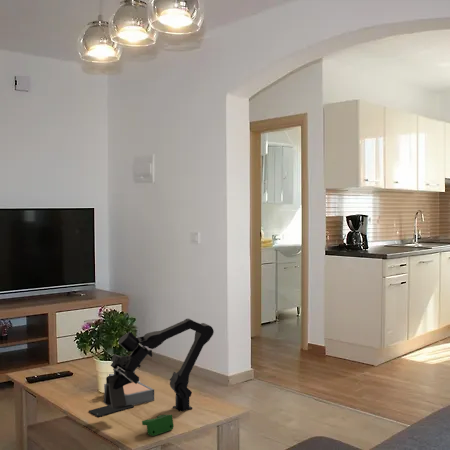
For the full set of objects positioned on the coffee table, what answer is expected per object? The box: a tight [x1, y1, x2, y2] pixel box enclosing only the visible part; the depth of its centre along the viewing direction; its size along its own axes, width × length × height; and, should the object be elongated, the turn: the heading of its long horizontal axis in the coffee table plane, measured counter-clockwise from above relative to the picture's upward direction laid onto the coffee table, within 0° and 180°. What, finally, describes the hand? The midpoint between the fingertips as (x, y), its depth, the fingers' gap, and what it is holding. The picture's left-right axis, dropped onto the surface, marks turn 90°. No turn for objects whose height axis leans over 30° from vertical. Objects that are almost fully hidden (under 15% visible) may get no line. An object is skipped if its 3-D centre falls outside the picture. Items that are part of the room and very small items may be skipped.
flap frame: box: [103, 380, 155, 406], centre depth 265 cm, size 21×16×5 cm
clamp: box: [141, 414, 175, 437], centre depth 225 cm, size 12×6×9 cm, turn 128°
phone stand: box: [103, 374, 126, 408], centre depth 237 cm, size 9×6×12 cm, turn 37°
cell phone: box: [88, 405, 135, 418], centre depth 249 cm, size 9×18×1 cm, turn 133°
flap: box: [109, 370, 150, 395], centre depth 265 cm, size 19×12×10 cm, turn 37°
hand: (111, 388), depth 236 cm, fingers closed on phone stand, 3 cm apart
